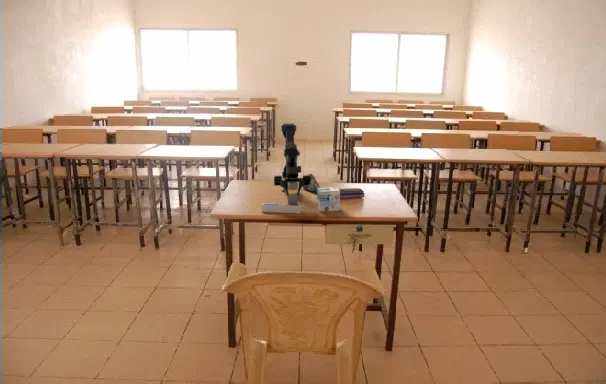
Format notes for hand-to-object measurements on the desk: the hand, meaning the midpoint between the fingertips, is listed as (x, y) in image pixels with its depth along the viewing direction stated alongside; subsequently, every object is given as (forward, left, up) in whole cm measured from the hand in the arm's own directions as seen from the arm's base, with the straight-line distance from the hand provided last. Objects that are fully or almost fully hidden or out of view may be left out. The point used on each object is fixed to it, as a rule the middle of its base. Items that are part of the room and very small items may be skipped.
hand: (293, 195), depth 229 cm
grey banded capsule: (-1, +1, -7) cm, 7 cm away
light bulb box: (+10, +15, -8) cm, 20 cm away
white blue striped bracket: (-2, -5, -8) cm, 10 cm away
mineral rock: (-21, +31, -8) cm, 38 cm away
